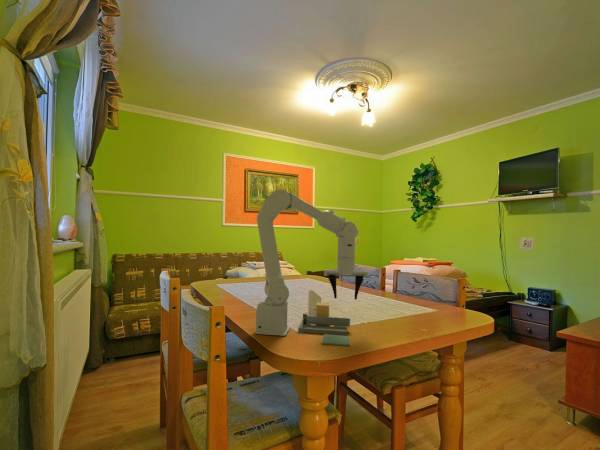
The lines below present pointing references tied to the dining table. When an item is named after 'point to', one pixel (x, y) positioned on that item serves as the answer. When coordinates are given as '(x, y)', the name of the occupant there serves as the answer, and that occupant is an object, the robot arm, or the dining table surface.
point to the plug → (322, 310)
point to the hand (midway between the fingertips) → (345, 298)
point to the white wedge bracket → (313, 303)
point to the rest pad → (336, 340)
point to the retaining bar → (326, 320)
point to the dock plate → (322, 329)
